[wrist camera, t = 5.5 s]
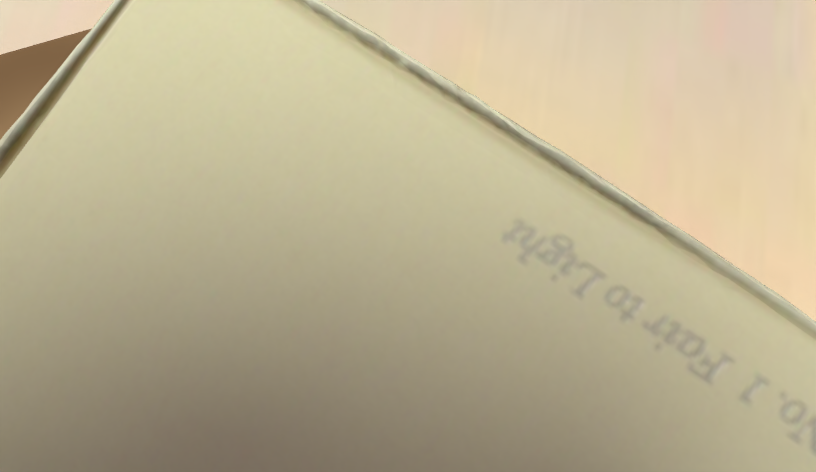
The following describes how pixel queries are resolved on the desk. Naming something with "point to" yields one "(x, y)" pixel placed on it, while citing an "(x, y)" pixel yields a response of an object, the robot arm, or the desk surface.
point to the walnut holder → (30, 74)
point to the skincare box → (354, 275)
